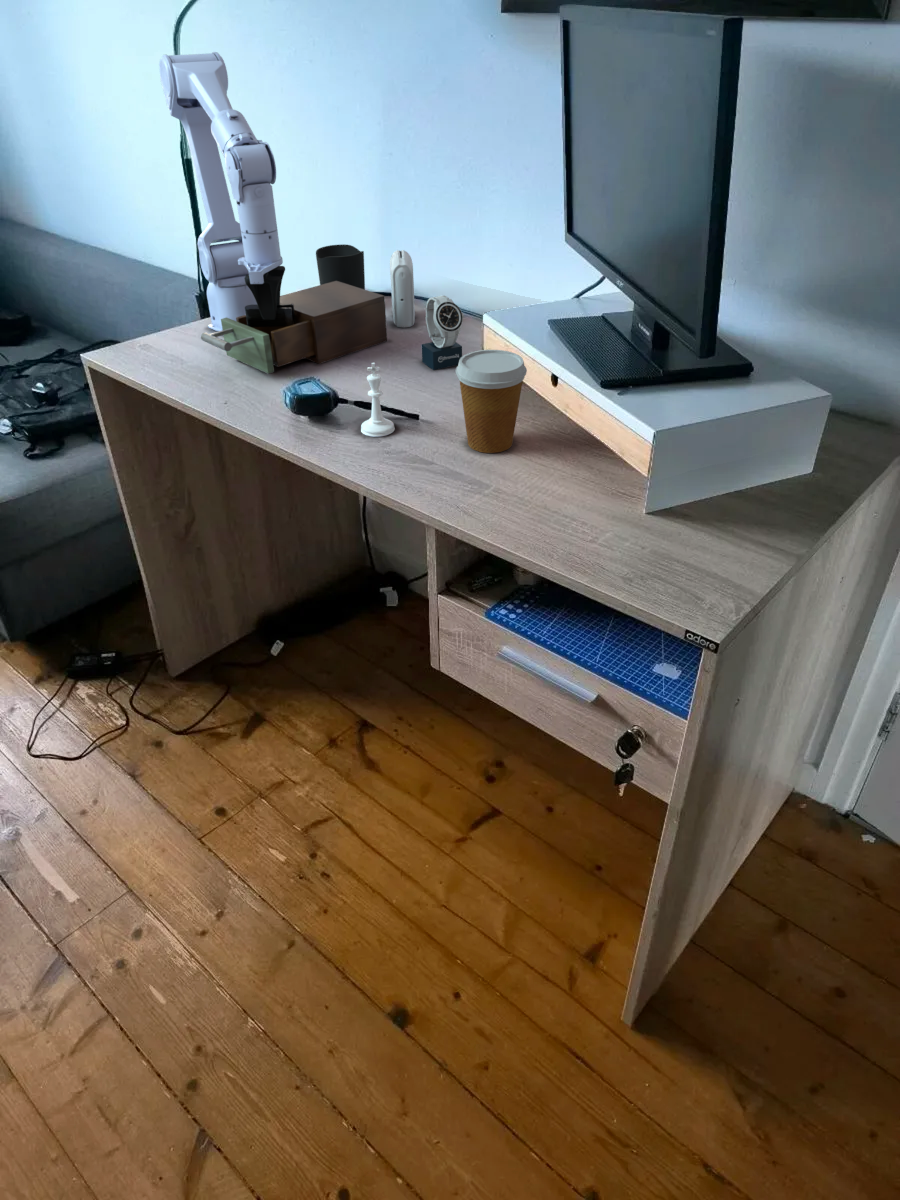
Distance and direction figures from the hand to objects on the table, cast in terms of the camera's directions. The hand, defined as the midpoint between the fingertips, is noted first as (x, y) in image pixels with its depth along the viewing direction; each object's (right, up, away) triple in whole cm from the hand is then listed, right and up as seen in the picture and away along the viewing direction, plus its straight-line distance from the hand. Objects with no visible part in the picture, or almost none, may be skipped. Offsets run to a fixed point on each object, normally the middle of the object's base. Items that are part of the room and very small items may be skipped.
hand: (271, 316), depth 143 cm
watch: (+29, -7, +3) cm, 30 cm away
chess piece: (+19, -23, -18) cm, 35 cm away
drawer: (-1, -6, +3) cm, 7 cm away
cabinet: (+8, -1, +11) cm, 14 cm away
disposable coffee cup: (+36, -26, -23) cm, 49 cm away
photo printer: (+21, +6, +22) cm, 31 cm away
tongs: (0, -1, +1) cm, 1 cm away
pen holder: (+8, +13, +31) cm, 34 cm away
